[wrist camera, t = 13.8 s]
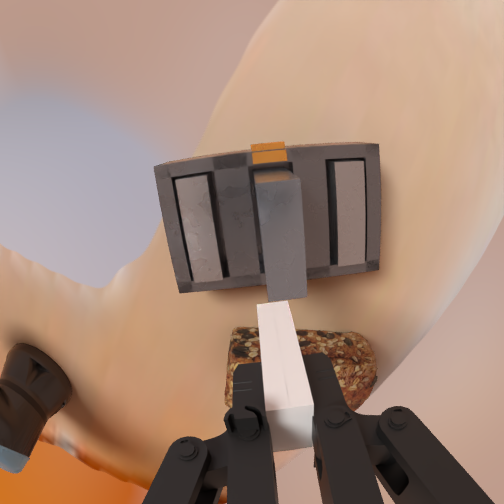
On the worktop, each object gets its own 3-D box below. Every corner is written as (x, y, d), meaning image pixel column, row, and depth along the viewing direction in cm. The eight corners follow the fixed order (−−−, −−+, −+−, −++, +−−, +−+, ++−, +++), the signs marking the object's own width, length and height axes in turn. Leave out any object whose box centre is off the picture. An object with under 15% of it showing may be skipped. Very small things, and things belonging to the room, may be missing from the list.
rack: (189, 269, 36) (177, 298, 30) (168, 156, 31) (149, 161, 25) (360, 249, 36) (382, 274, 29) (356, 136, 31) (382, 138, 24)
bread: (363, 327, 40) (387, 373, 31) (342, 380, 44) (358, 426, 35) (230, 319, 39) (226, 371, 30) (225, 376, 43) (221, 427, 34)
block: (252, 168, 29) (255, 183, 20) (283, 165, 29) (300, 179, 20) (262, 253, 32) (268, 301, 23) (290, 250, 32) (307, 297, 23)
